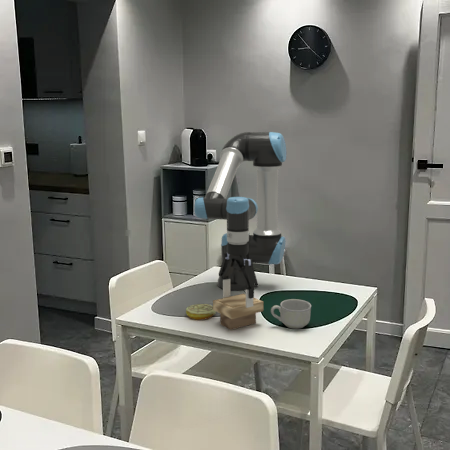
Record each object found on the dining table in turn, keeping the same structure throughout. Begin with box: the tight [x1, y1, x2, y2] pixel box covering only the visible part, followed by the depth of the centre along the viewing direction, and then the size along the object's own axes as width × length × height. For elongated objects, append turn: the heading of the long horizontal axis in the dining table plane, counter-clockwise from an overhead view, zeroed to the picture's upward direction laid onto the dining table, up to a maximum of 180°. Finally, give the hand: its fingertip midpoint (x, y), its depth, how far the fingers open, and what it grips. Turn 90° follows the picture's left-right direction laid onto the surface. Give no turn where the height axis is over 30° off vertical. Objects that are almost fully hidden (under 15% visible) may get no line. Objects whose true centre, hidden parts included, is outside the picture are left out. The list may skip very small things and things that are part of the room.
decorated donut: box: [185, 303, 217, 321], centre depth 223 cm, size 10×11×4 cm
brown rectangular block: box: [219, 313, 257, 331], centre depth 214 cm, size 6×11×5 cm, turn 125°
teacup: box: [270, 298, 312, 330], centre depth 212 cm, size 14×11×8 cm
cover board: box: [212, 293, 264, 319], centre depth 213 cm, size 12×14×4 cm
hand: (237, 301), depth 213 cm, fingers open, 13 cm apart
